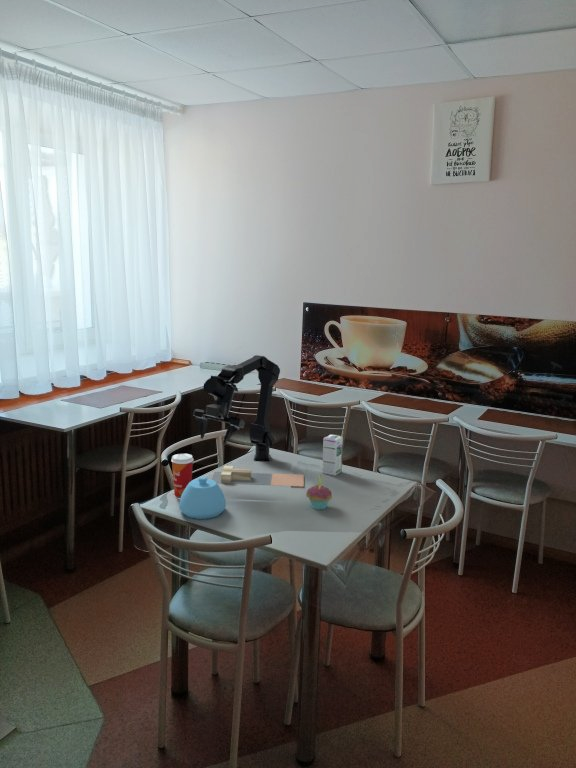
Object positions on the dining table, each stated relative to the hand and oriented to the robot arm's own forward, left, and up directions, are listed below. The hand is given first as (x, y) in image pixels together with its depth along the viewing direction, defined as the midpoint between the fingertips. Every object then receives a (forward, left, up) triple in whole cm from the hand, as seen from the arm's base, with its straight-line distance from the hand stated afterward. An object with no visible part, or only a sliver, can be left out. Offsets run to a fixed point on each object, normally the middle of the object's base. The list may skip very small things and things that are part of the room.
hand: (212, 441), depth 229 cm
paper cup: (+15, -8, -15) cm, 23 cm away
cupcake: (+21, +39, -15) cm, 47 cm away
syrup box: (-13, +45, -15) cm, 49 cm away
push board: (-2, +17, -15) cm, 23 cm away
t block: (-2, +9, -15) cm, 17 cm away
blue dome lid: (+28, +1, -15) cm, 32 cm away
